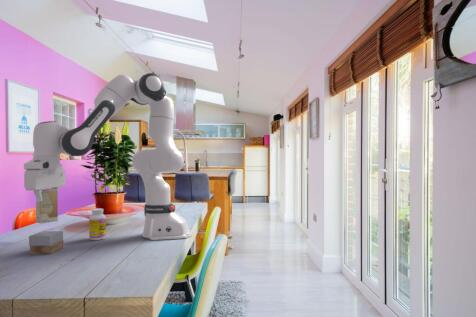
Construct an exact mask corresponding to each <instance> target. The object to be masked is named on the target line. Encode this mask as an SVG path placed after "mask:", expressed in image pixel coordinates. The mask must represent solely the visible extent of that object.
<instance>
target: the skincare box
mask: <svg viewBox="0 0 476 317" xmlns="http://www.w3.org/2000/svg"><path fill="white" fill-rule="evenodd" d="M58 193H59V191H58V190H56V189H52V188H48V189H42V192H41V195H42V197H43V202H36V201H35V222H36V223H38V224H47V223H53V222H58V219H59V217H58V216H59V215H58V214H59V213H58V211H59V208H58V207H59V204H58V202H59V201H58V200H59V199H58V197H59V196H58Z"/></svg>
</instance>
